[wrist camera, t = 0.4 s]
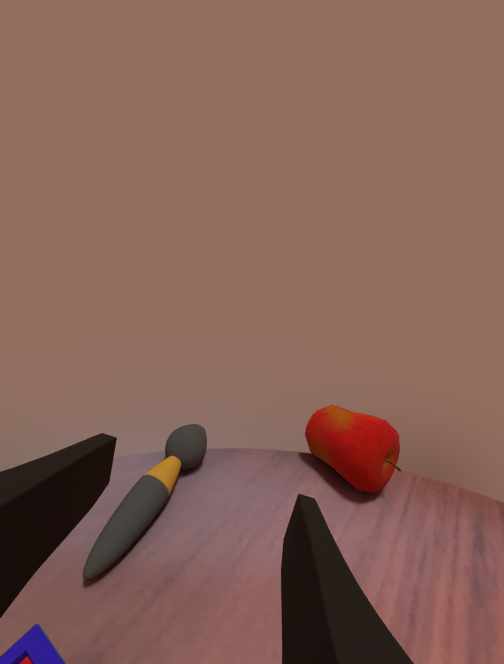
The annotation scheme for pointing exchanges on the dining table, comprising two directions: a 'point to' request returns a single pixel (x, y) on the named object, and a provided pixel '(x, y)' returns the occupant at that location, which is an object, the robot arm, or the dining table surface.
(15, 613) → the dining table surface
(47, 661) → the toy building block
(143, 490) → the paintbrush
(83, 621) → the dining table surface
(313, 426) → the apple
